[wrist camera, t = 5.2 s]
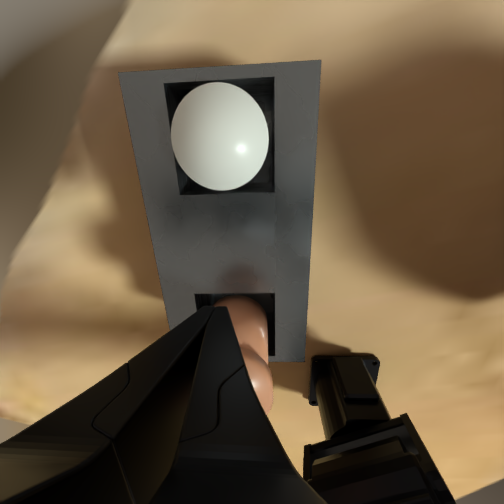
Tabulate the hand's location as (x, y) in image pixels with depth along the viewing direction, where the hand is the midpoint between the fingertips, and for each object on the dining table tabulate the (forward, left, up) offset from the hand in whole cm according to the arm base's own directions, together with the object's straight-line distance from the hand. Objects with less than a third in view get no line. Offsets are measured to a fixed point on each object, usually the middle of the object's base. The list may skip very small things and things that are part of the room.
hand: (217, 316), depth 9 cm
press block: (+1, 0, -12) cm, 12 cm away
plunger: (+6, 0, -10) cm, 12 cm away
